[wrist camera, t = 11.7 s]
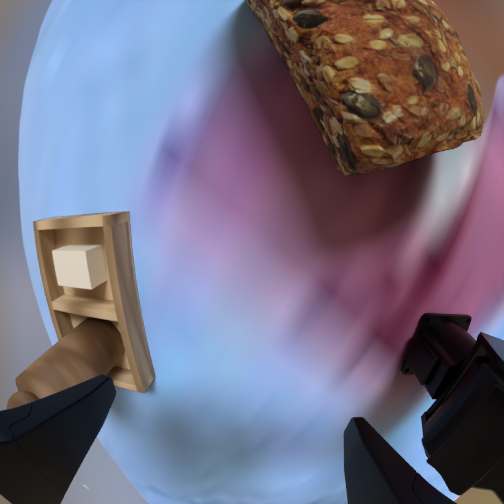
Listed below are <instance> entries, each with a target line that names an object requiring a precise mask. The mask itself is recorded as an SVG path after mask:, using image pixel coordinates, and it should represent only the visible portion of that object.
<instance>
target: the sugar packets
mask: <svg viewBox="0 0 504 504" xmlns="http://www.w3.org/2000/svg"><path fill="white" fill-rule="evenodd" d="M52 254H53V261H54V266H55V272H56V277H57V282H58V285H59V286H67V287H75V288H83V289H93V288H95V287H97V286H98V285H100V284H102V283H103V282H105V281H106V280H107V277H106V271H105V264H104V257H103V249H102V245H66V246H64V247H61V248H58V249H55V250H52Z"/></svg>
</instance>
